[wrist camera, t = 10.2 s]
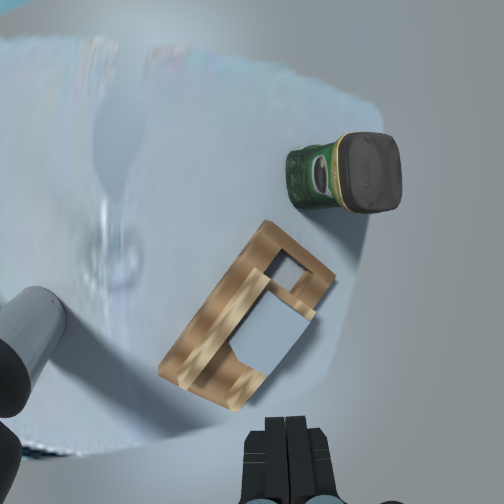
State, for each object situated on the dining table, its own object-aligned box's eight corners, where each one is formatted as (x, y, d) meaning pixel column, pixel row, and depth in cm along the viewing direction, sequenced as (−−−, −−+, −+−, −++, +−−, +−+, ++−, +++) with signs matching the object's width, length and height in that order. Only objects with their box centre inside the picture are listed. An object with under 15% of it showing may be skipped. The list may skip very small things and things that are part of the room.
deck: (228, 400, 50) (238, 425, 44) (158, 366, 46) (160, 390, 39) (327, 271, 51) (350, 282, 45) (264, 219, 47) (283, 224, 40)
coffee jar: (331, 206, 49) (413, 215, 32) (286, 210, 47) (359, 221, 30) (326, 146, 47) (407, 130, 30) (281, 147, 45) (352, 124, 28)
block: (250, 349, 46) (268, 376, 39) (224, 334, 45) (238, 360, 37) (286, 302, 47) (310, 322, 39) (261, 284, 45) (283, 302, 37)
